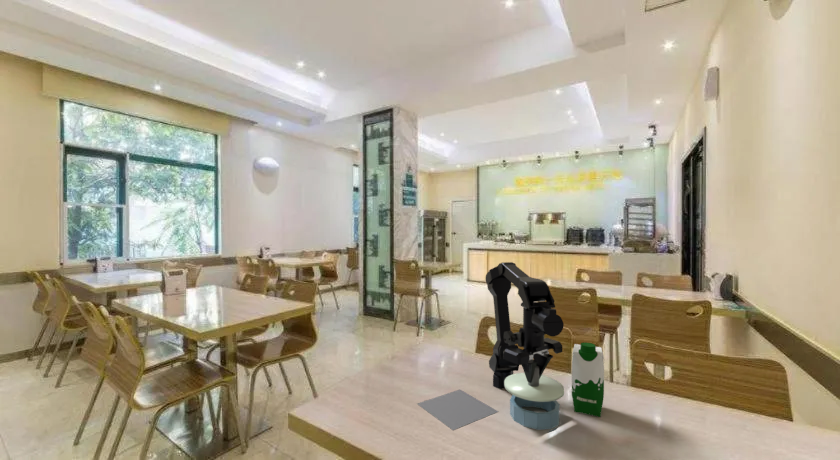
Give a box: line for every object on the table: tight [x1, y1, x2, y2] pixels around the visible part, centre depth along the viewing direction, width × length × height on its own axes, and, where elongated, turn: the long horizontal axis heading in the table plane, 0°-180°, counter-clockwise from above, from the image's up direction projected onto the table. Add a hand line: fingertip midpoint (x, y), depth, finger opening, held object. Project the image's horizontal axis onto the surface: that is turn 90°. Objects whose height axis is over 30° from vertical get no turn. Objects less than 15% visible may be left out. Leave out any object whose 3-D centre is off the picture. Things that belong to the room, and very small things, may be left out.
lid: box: [504, 365, 565, 402], centre depth 102 cm, size 16×16×6 cm
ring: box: [509, 394, 561, 433], centre depth 103 cm, size 13×13×5 cm
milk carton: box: [571, 341, 605, 418], centre depth 109 cm, size 9×9×20 cm
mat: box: [416, 389, 499, 431], centre depth 107 cm, size 17×17×1 cm
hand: (533, 380), depth 103 cm, fingers closed on lid, 3 cm apart
